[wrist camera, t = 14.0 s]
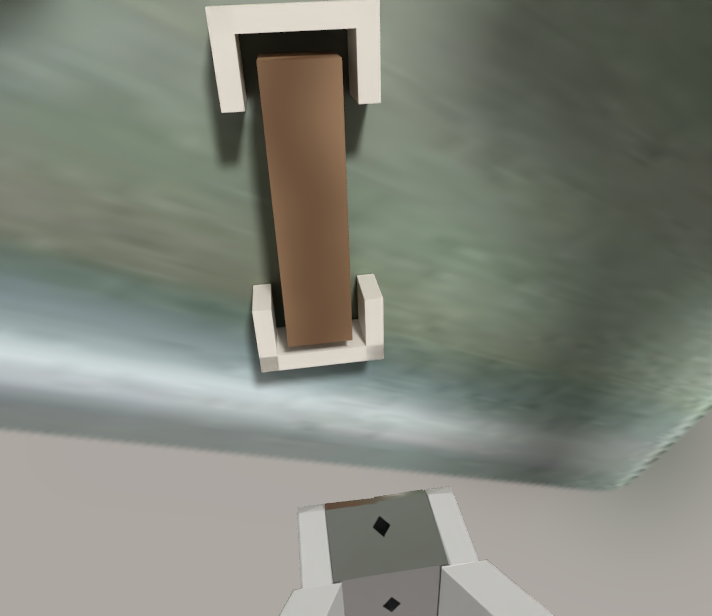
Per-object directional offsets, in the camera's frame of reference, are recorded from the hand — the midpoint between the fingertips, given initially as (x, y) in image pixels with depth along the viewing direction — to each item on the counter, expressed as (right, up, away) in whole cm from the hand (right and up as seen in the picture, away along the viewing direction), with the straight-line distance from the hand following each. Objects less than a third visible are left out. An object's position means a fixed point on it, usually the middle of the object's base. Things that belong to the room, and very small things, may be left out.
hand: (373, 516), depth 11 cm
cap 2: (-3, +4, +22) cm, 22 cm away
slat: (-3, +10, +18) cm, 21 cm away
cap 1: (-3, +17, +14) cm, 22 cm away
